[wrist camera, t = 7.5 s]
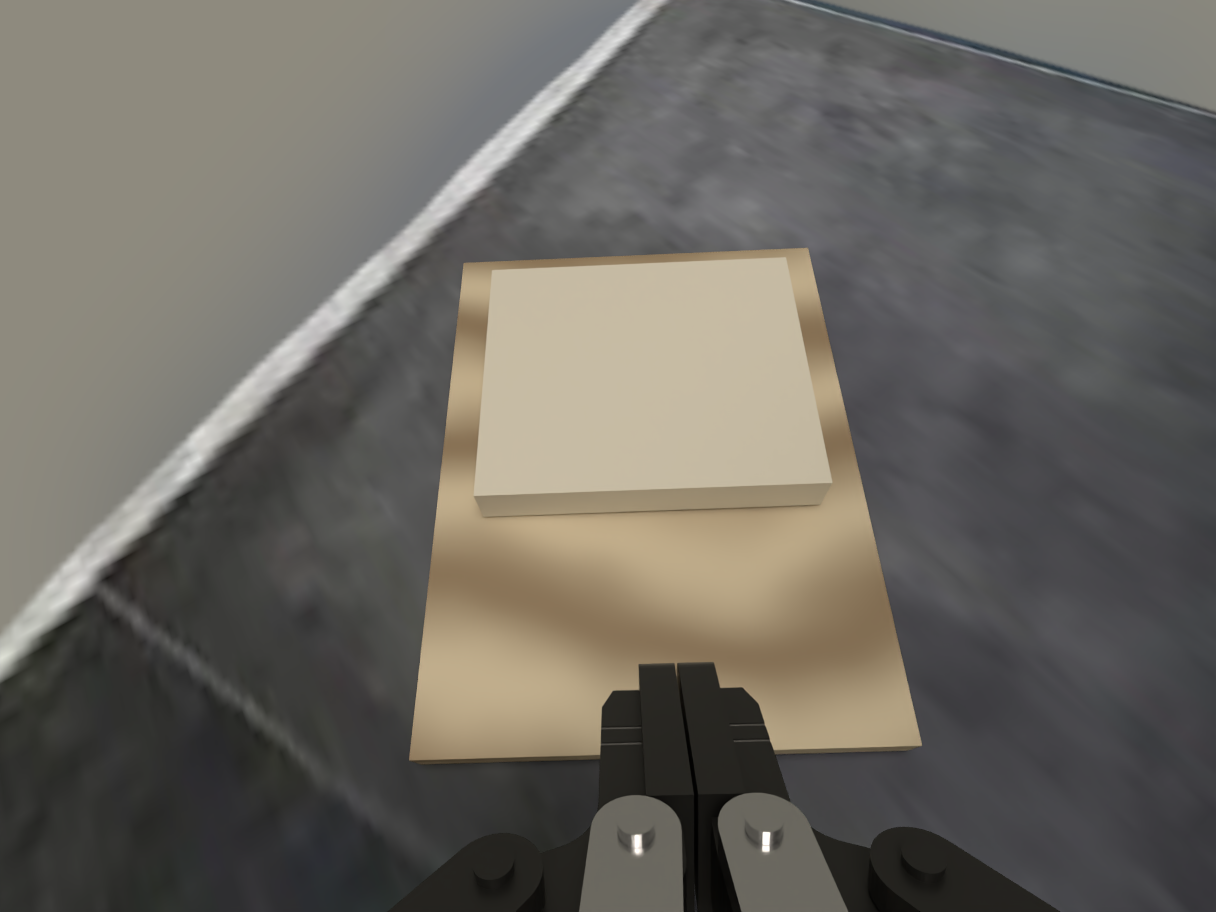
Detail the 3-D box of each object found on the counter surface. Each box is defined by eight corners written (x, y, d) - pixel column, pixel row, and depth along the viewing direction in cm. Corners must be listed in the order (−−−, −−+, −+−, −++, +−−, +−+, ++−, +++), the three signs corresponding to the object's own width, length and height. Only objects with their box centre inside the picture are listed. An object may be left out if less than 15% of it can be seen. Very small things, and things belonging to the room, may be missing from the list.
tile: (819, 506, 28) (777, 288, 34) (832, 482, 26) (785, 257, 32) (484, 518, 29) (500, 300, 34) (473, 496, 27) (492, 270, 33)
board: (469, 283, 37) (463, 263, 36) (801, 268, 37) (807, 247, 35) (420, 764, 25) (409, 760, 24) (907, 750, 25) (921, 745, 24)
